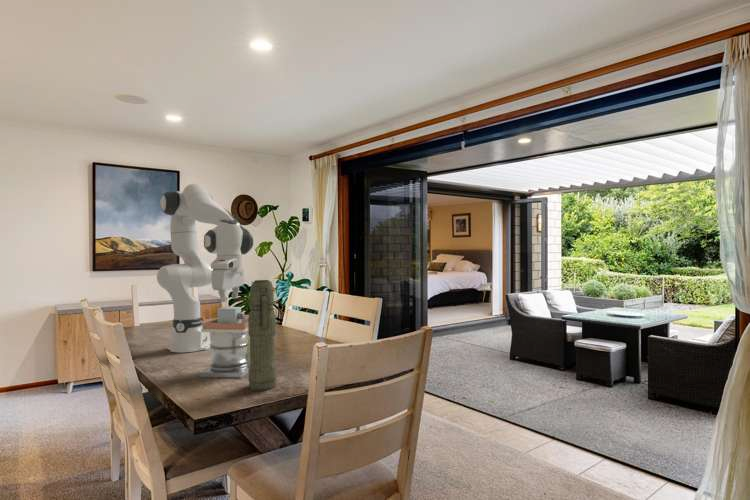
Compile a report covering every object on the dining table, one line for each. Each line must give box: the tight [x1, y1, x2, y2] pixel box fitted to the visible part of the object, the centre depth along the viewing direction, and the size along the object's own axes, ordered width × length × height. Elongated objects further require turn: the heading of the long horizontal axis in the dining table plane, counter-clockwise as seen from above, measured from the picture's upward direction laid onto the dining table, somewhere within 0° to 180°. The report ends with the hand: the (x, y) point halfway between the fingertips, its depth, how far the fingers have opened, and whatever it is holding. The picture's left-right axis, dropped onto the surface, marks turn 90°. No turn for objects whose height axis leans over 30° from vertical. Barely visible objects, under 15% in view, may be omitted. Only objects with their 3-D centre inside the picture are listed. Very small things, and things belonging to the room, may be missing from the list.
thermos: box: [248, 279, 277, 392], centre depth 147 cm, size 9×12×35 cm
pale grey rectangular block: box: [216, 306, 246, 323], centre depth 166 cm, size 5×9×7 cm, turn 84°
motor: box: [198, 318, 250, 379], centre depth 166 cm, size 16×16×19 cm
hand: (229, 300), depth 166 cm, fingers open, 8 cm apart
